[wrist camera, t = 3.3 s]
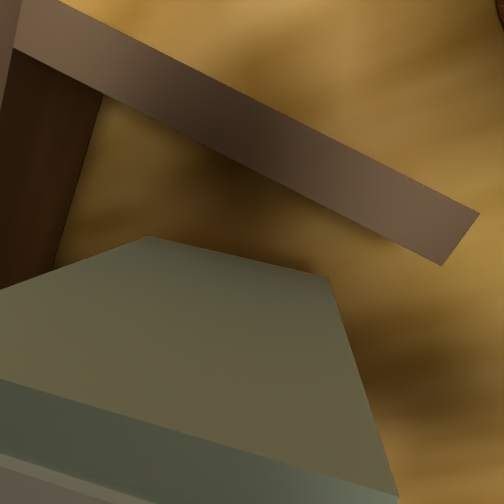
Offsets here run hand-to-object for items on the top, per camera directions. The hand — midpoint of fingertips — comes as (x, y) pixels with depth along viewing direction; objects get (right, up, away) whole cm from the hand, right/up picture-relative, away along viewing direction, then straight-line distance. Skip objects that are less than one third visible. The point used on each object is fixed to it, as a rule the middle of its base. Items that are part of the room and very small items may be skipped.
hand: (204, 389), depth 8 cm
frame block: (0, 0, +1) cm, 1 cm away
